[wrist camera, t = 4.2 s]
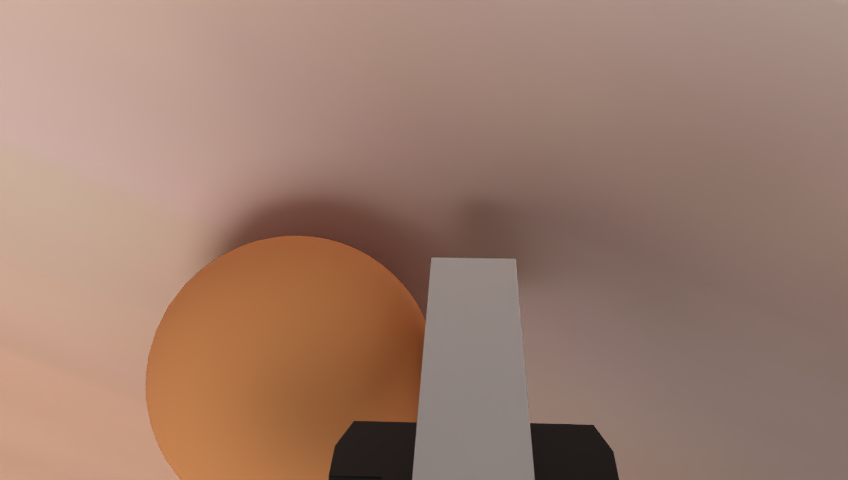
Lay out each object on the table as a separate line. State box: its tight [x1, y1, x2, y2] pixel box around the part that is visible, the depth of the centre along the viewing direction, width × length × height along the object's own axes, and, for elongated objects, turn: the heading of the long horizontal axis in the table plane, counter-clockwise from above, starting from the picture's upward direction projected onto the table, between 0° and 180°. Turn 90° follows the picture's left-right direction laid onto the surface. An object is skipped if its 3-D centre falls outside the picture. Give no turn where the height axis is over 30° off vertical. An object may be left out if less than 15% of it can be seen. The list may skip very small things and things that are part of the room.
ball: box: [146, 236, 426, 480], centre depth 16 cm, size 6×6×6 cm
